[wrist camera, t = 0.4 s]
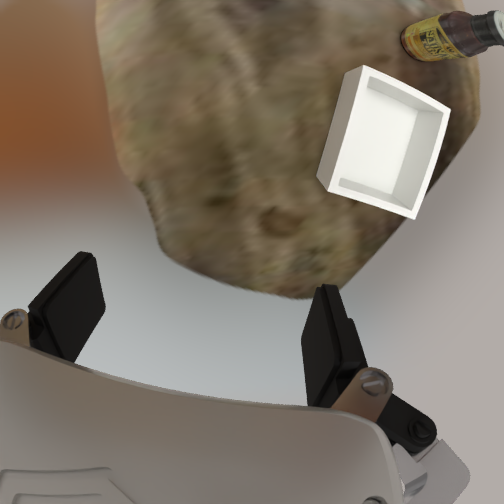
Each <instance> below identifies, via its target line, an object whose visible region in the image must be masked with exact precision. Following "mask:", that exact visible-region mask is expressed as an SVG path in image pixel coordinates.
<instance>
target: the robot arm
mask: <svg viewBox="0 0 504 504" xmlns="http://www.w3.org/2000/svg"><path fill="white" fill-rule="evenodd" d="M105 307H106V306H105V301H104V297H103V292H102V288H101V283H100V278H99V273H98V268H97V262H96V258H95V257H93V255H92V253H88V252H82V251H80V252H78V253H77V254H76V255H75V256H74V257H73V258H72V259H71V260H70V261H69V262H68V263H67V264H66V265H65V266H64V267H63V268H62V269H61V270H60V271H59V272H58V273H57V274H56V275H55V276H54V278H53V279H52V280H51V281H50V282H49V283H48V284H47V285H46V286H45V287H44V288H43V290H42V291H41V292H40V293H39V294H38V295H37V296H36V297H35V298H34V300H33V301H32V302H31V303H30V304H29V306H28V308H29V310H30V311H29V313H27V312H26V311H25V310H23V309H13V310H11V311H9V312H7V313H6V314H5V315H4V316H3V317H2V319H1V321H0V504H453V503H454V501H455V500H456V499H457V498H458V497H459V495H460V494H461V493H462V492H463V490H464V489H465V488H466V487H467V485H468V483H469V480H470V472H469V470H468V468H467V467H466V465H465V464H464V463H463V462H462V461H461V459H460V458H459V457H457V455H456V454H455V453H454V452H453V450H452V449H451V448H450V447H449V446H448V445H447V444H446V443H445V441H444V440H443V439H441V440H440V441H439V440H438V439H437V438H436V435H437V429H436V426H435V424H434V422H433V421H432V420H431V419H430V418H429V417H428V416H426V415H425V414H423V413H422V412H420V411H419V410H417V409H416V408H414V407H412V406H411V405H409V404H408V403H406V402H405V401H403V400H402V399H400V398H399V397H397V396H395V395H394V394H393V393H392V391H393V382H392V380H391V378H390V377H389V376H388V374H387V373H385V372H384V371H382V370H380V369H377V368H373V367H368V365H367V361H366V358H365V355H364V352H363V348H362V345H361V342H360V339H359V336H358V333H357V330H356V327H355V324H354V321H353V319H351V318H348V317H347V314H346V311H345V308H344V305H343V302H342V299H341V296H340V293H339V290H338V287H337V286H336V285H329V284H322V286H321V287H317V288H316V291H315V295H314V298H313V301H312V305H311V308H310V311H309V314H308V317H307V321H306V324H305V327H304V330H303V333H302V337H301V346H302V355H303V364H304V373H305V383H306V393H307V404H308V406H297V405H283V404H270V403H259V402H250V401H241V400H232V399H224V398H217V397H210V396H203V395H198V394H192V393H186V392H181V391H176V390H170V389H166V388H161V387H157V386H152V385H148V384H143V383H139V382H135V381H132V380H128V379H124V378H120V377H117V376H113V375H110V374H106V373H103V372H100V371H96V370H93V369H90V368H87V367H84V366H81V365H78V364H75V363H74V362H75V361H76V359H77V357H78V355H79V354H80V352H81V350H82V348H83V347H84V345H85V343H86V342H87V340H88V338H89V337H90V335H91V333H92V332H93V330H94V328H95V327H96V325H97V324H98V322H99V320H100V319H101V317H102V316H103V314H104V312H105ZM399 473H400V474H399ZM400 478H401V479H402V481H403V483H404V485H405V492H404V495H403V490H402V485H401V479H400Z"/></svg>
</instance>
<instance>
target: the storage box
mask: <svg viewBox="0 0 504 504" xmlns="http://www.w3.org/2000/svg"><path fill="white" fill-rule="evenodd" d="M450 111H451V109H449V108H447V107H446V106H444V105H442V104H441V103H439V102H437V101H436V100H434V99H432V98H431V97H429V96H427V95H425V94H424V93H422V92H420V91H418V90H416V89H414V88H412V87H410V86H408V85H407V84H405V83H403V82H401V81H398V80H396V79H394V78H392V77H390V76H388V75H386V74H384V73H381V72H379V71H377V70H374V69H372V68H370V67H367V66H365V65H362V66H360V67H358V68H355V69H353V70H350V71H348V72H346V73H345V75H344V78H343V82H342V86H341V90H340V94H339V97H338V101H337V105H336V108H335V112H334V116H333V119H332V123H331V126H330V130H329V134H328V137H327V140H326V144H325V147H324V151H323V154H322V158H321V161H320V164H319V168H318V171H317V174H316V177H317V178H318V179H319V181H320V182H321V183H322V185H323V186H324V187H325V189H326V190H327V191H329V192H332V193H335V194H339V195H342V196H345V197H349V198H352V199H355V200H358V201H361V202H365V203H368V204H371V205H374V206H377V207H380V208H383V209H386V210H389V211H392V212H394V213H397V214H400V215H403V216H406V217H409V218H412V219H414V220H415V218H416V215H417V213H418V211H419V208H420V205H421V203H422V200H423V198H424V195H425V192H426V190H427V187H428V184H429V181H430V179H431V176H432V173H433V170H434V167H435V164H436V161H437V158H438V154H439V151H440V148H441V144H442V141H443V138H444V134H445V130H446V127H447V123H448V119H449V115H450Z"/></svg>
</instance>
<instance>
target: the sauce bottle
mask: <svg viewBox="0 0 504 504" xmlns="http://www.w3.org/2000/svg"><path fill="white" fill-rule="evenodd" d="M401 41H402V44H403V46H404V48H405V50H406V51H407V53H408V54H410V56H412V57H413V58H415V59H418V60H421V61H436V60H444V59H453V58H465V57H472V56H474V55H477V54H479V53H482V52H484V51H486V50H487V48H488V47H490V46H493V45H502V46H504V13H503V12H501V11H489V12H488V13H487V14H484V15H475V16H472V15H471V14H469V13H466V12H463V11H453V12H451V13H444V14H441V15H438V16H435V17H432V18H429V19H426V20H423V21H420V22H417V23H415V24H412V25H410V26H409V27H407V28H406V29H404V31H403V32H402V35H401Z"/></svg>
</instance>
